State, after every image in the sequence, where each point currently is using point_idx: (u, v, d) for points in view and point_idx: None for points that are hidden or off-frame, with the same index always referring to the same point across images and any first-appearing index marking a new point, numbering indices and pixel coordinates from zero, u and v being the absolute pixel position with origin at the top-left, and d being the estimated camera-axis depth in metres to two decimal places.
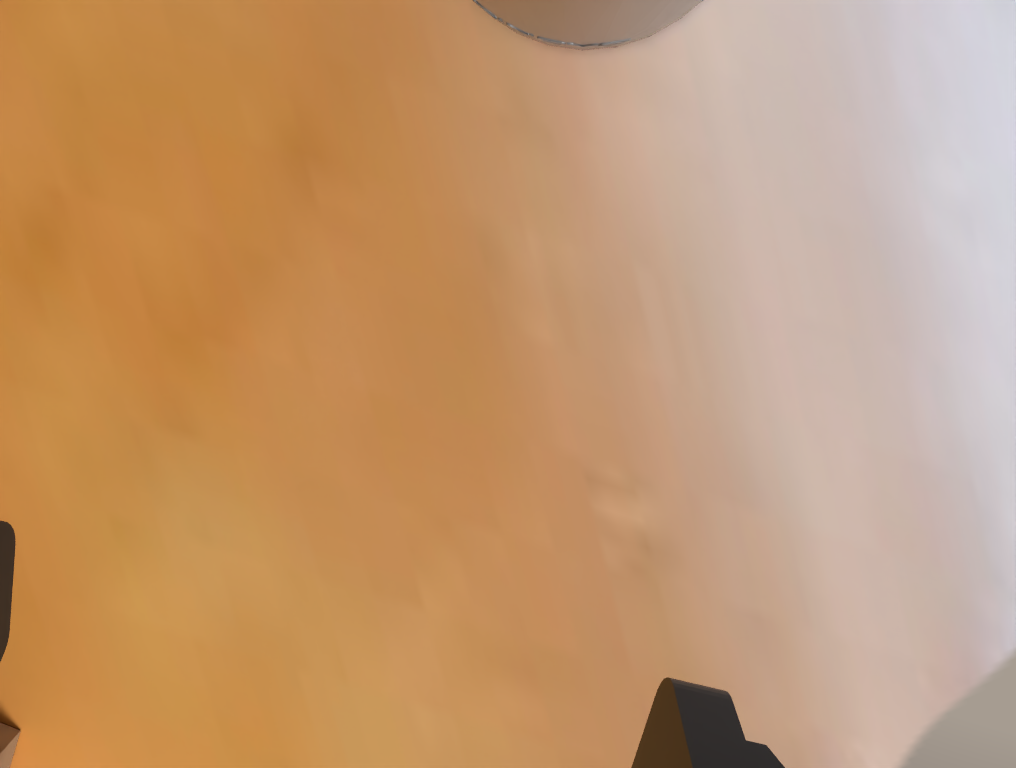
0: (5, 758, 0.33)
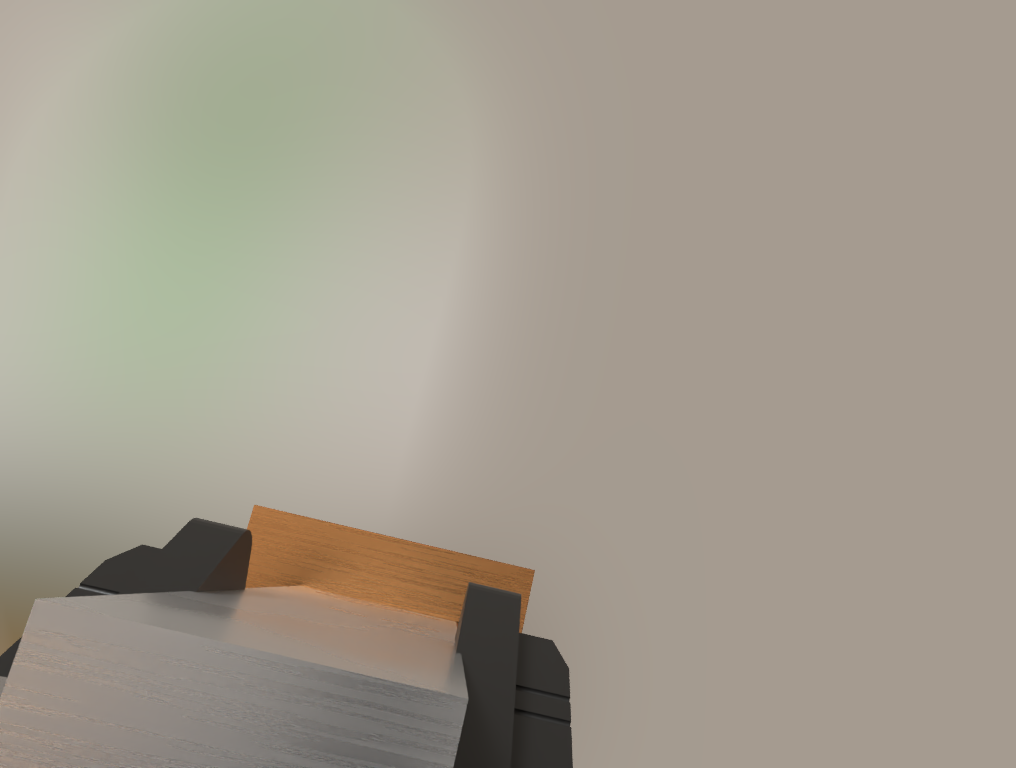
0: None
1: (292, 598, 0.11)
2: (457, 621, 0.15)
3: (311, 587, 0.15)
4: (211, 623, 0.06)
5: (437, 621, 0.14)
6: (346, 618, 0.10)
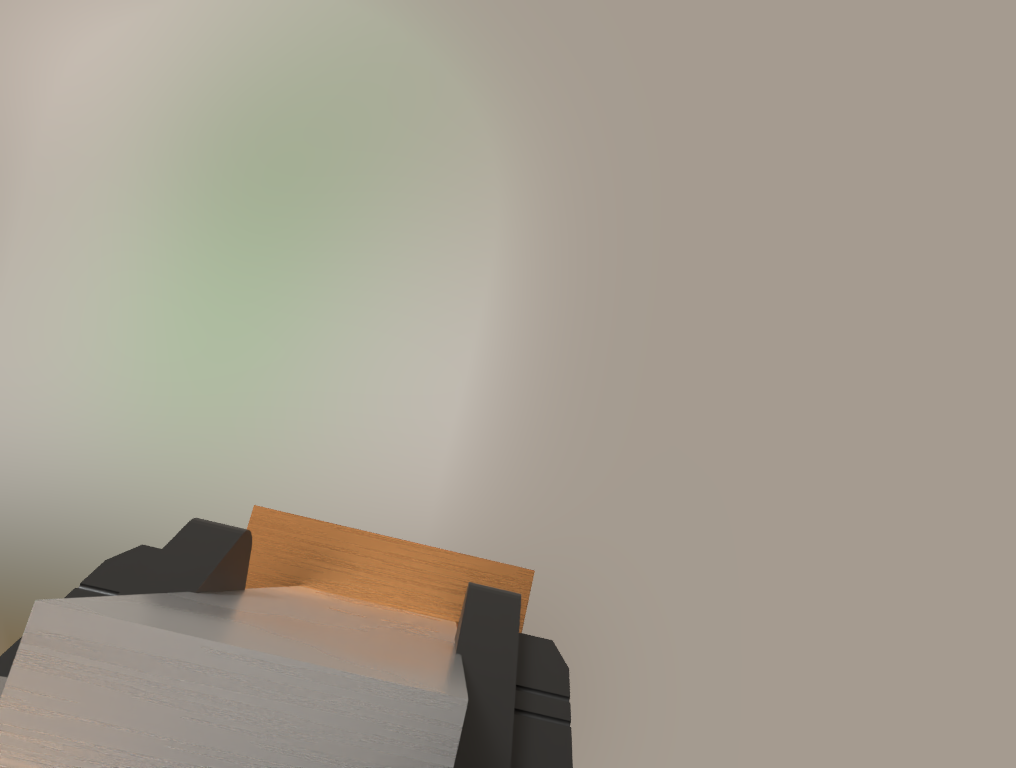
0: None
1: (292, 599, 0.11)
2: (457, 621, 0.15)
3: (311, 587, 0.15)
4: (211, 624, 0.06)
5: (437, 621, 0.14)
6: (346, 619, 0.10)
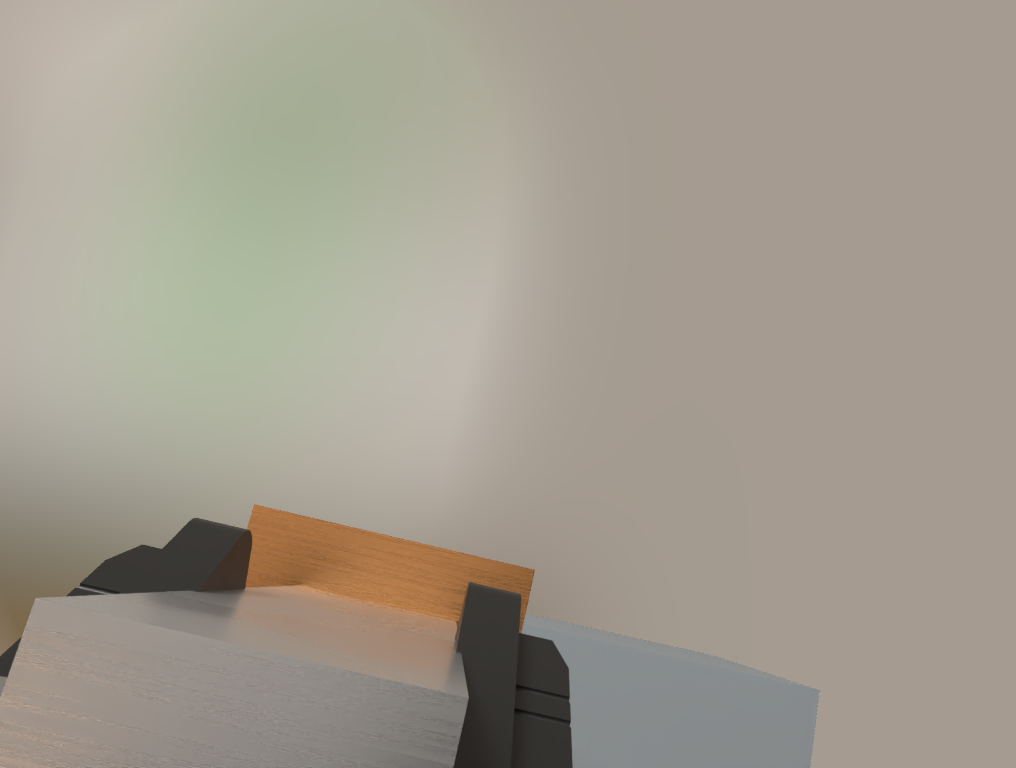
0: None
1: (292, 598, 0.11)
2: (457, 621, 0.15)
3: (311, 587, 0.15)
4: (211, 622, 0.06)
5: (437, 621, 0.14)
6: (346, 618, 0.10)
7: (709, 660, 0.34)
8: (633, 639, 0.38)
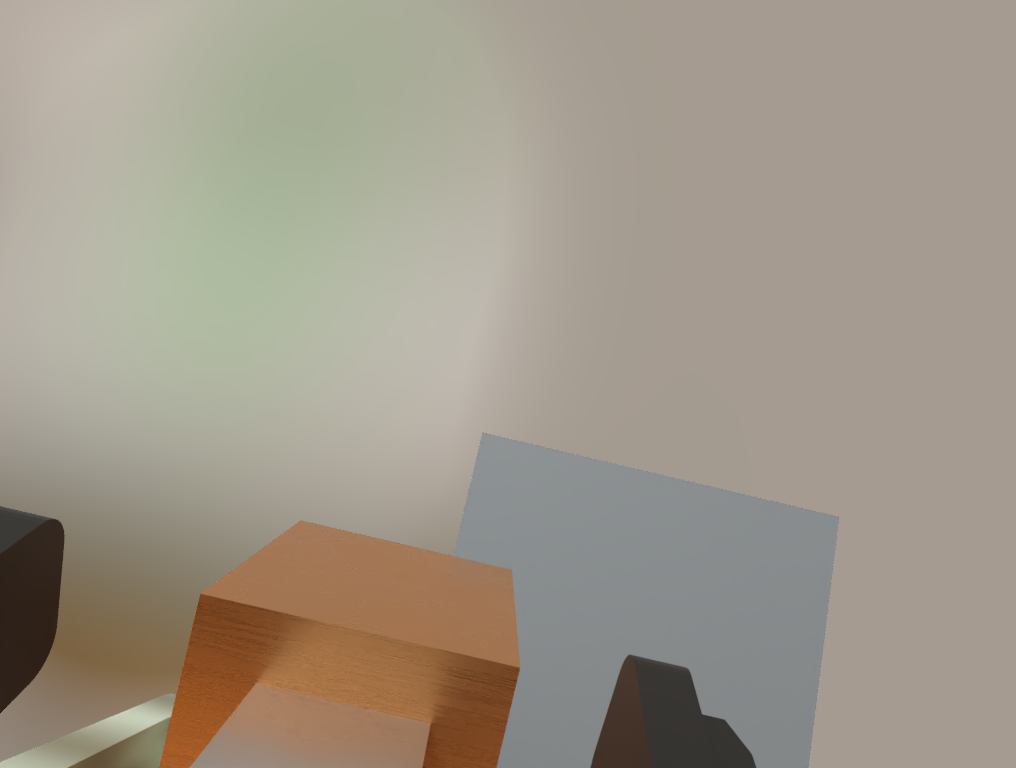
0: None
1: None
2: (432, 723, 0.14)
3: (268, 685, 0.14)
4: None
5: (401, 756, 0.12)
6: None
7: None
8: None
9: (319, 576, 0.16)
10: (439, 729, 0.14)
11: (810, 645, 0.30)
